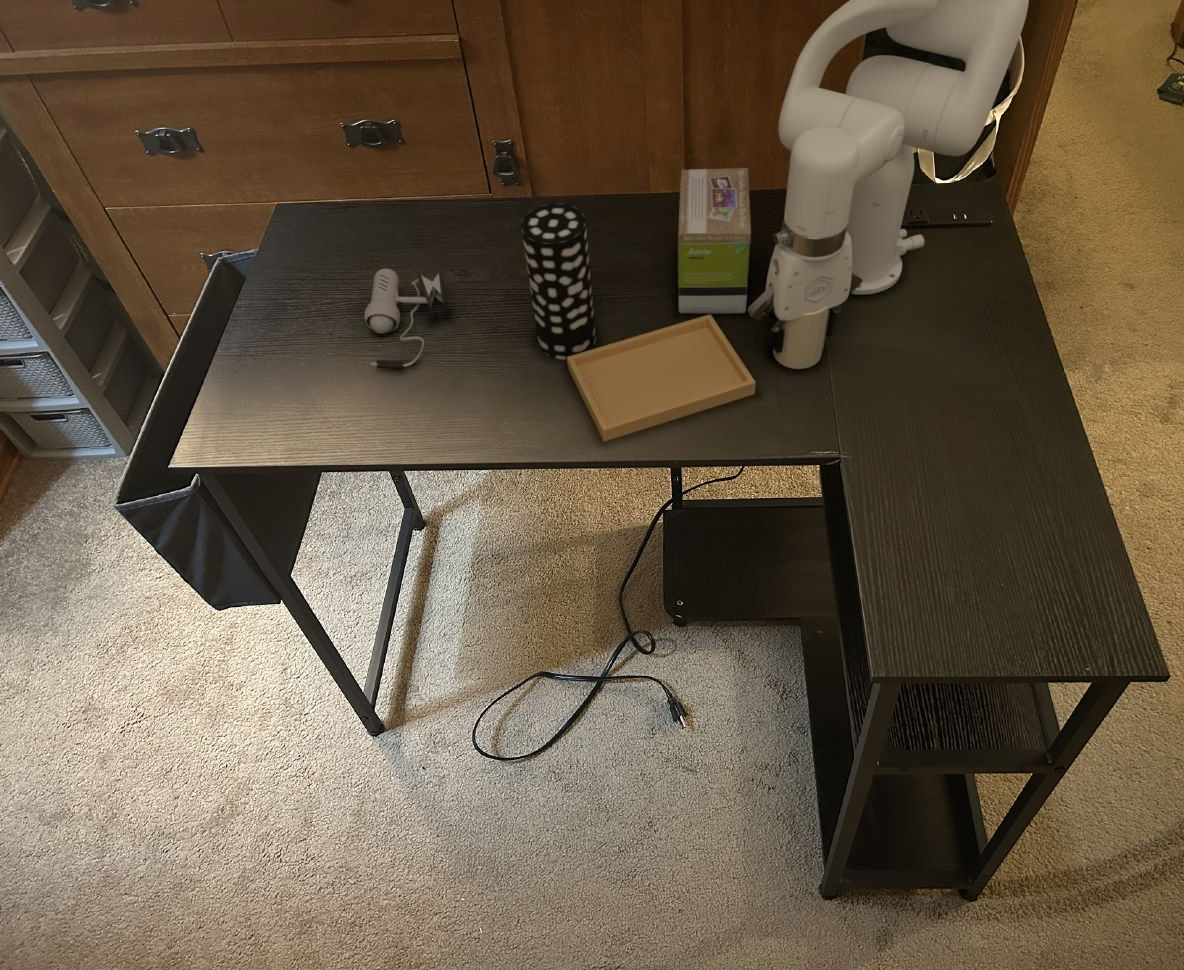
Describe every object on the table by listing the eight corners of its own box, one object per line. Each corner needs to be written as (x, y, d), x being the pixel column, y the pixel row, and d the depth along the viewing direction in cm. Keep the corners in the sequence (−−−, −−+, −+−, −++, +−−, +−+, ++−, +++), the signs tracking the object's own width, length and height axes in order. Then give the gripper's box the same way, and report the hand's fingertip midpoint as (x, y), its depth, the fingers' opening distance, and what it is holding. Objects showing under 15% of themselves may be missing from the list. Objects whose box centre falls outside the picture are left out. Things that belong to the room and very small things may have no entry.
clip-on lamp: (443, 383, 133) (451, 281, 140) (438, 359, 127) (446, 254, 135) (361, 382, 132) (373, 280, 140) (352, 358, 127) (365, 253, 134)
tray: (709, 326, 132) (710, 313, 130) (754, 394, 124) (755, 382, 122) (567, 368, 129) (566, 357, 127) (603, 442, 120) (602, 430, 118)
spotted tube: (589, 362, 129) (578, 246, 114) (532, 356, 131) (513, 241, 115) (600, 322, 134) (591, 205, 118) (545, 317, 136) (529, 201, 120)
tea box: (679, 250, 143) (680, 166, 131) (744, 249, 142) (751, 165, 130) (676, 315, 134) (677, 231, 122) (746, 316, 133) (754, 231, 121)
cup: (807, 329, 130) (815, 274, 122) (830, 360, 126) (840, 305, 118) (764, 343, 129) (769, 288, 121) (786, 375, 125) (793, 320, 117)
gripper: (762, 270, 108) (753, 375, 122) (894, 229, 110) (870, 337, 124) (735, 233, 112) (729, 339, 126) (862, 194, 115) (842, 302, 129)
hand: (799, 337), depth 125 cm, fingers closed on cup, 6 cm apart
